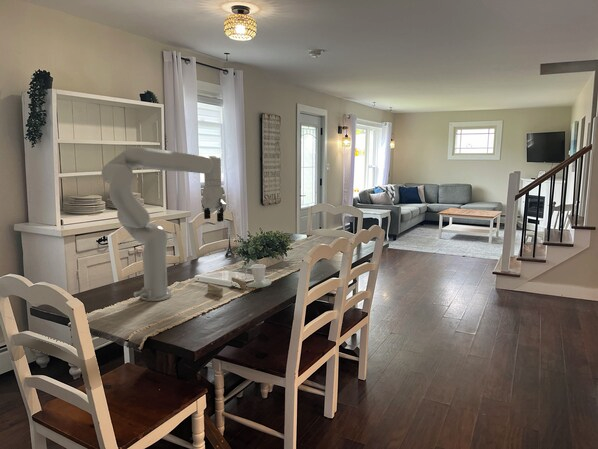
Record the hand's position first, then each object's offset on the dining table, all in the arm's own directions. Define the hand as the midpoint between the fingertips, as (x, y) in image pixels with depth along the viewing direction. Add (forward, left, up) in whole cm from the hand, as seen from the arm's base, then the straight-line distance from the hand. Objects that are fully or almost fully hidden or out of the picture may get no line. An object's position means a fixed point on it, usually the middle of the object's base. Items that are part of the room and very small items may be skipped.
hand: (213, 219), depth 211 cm
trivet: (+13, -15, -30) cm, 36 cm away
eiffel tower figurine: (+37, +34, -31) cm, 59 cm away
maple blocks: (-4, -14, -30) cm, 34 cm away
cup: (+12, -15, -30) cm, 36 cm away
